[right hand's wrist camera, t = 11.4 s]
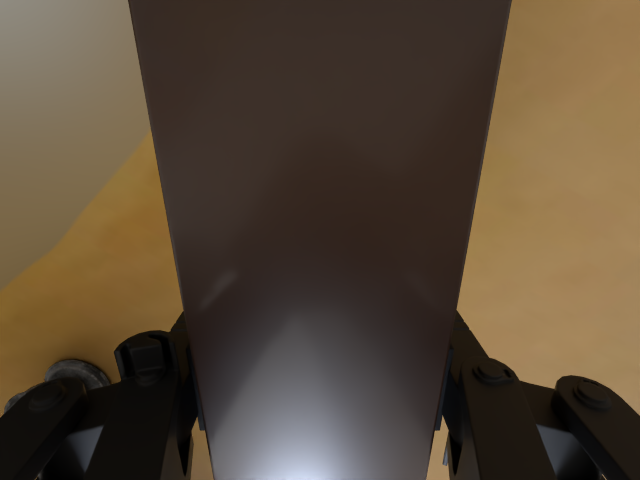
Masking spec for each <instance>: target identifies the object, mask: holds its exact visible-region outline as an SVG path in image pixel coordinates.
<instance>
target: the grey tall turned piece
mask: <svg viewBox="0 0 640 480" xmlns="http://www.w3.org/2000/svg"><path fill="white" fill-rule="evenodd" d="M64 377H74V378H78V379H80V380H81V381H82V382H83V384H84V387H85V390H90V389H94V388H99V387H103V386H107V385H110V383H109V380H108V379H107V377H106V376H105V375H104V374H103V373H102V372H101V371H100V370H99V369H97V368H96V367H94V366H92V365H90V364H88V363H85V362H82V361H77V360H63V361H60V362H57V363H55V364H54V365H52V366H51V367H50V368H49V369H48V371H47V372H46V375H45V382H48V381H51V380H54V379H57V378H64ZM45 382H43V383H45ZM43 383H40V384H38V385H36V386H33V387H31V388H30V389H28V390H27V391H25V392H22V393H19V394H17V395H15V396H14V397H12V398H11V399H10V400H9V401H8V403H7V404H6V406H5V410H4V414H5V413H6V412H7V411H8V410H9V409H10V408H11V407H12V406H13V405H14V404H15V403H16V402H17V401H18V400H19V399H20V398H21V397H22V396H24V395H25V394H26V393H28V392H29V391H30V390H32V389H33V388H35V387H37V386H39V385H41V384H43Z"/></svg>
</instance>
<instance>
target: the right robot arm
mask: <svg viewBox="0 0 640 480" xmlns="http://www.w3.org/2000/svg"><path fill="white" fill-rule="evenodd" d="M114 355H115V358H116V362H117V366H118V369H119V373H120V377H121V382H118V383H115V384H112V385H107V386H103V387H99V388H94V389H90V390H85V387H84V384H83V382H82V381H81V380H80V379H78V378H74V377H64V378H57V379H54V380H51V381H48V382H45V383H43V384H41V385H39V386H37V387H35V388H33V389H32V390H30V391H29V392H28V393H26V394H25V395H24V396H22V397H21V398H20V399H19V400H18V401H17V402H16V403H15V404H14V405H13V406H12V407H11V408H10V409H9V410H8V411H7V412H6V413H5V414H4V415H3V416H2V417H1V418H0V480H35V479H36V477H37V476H38V477H37V479H36V480H190V477H191V467H192V456H193V446H194V444H193V437H192V432H191V431H192V428H193V426H194V423H195V421H196V418H197V416H198V422H199V428H200V430H205V427H204V421H203V416H202V410H201V405H200V399H199V393H198V388H197V382H196V377H195V371H194V365H193V360H192V354H191V349H190V343H189V338H188V332H187V326H186V321H185V315H184V311H183V312H182V314H181V315H180V317H179V318H178V320H177V321H176V323H175V324H174V325H173V327H172V328H171V332H165V331H161V330H156V331H147V332H143V333H139V334H137V335H134V336H132V337H130V338H128V339H126V340H125V341H124V342H122V343H121V344H119V346H118V347H117V348H116V350H115V351H114ZM442 415H443V417H444V420H445V422H446V425H447V427H448V430H449V432H448V437H447V442H446V447H445V453H444V458H443V465H446V466H447V463H448V466H449V476H450V480H605V478H606V479H607V480H640V416H639V415H638V414H637V413H636V412H635V411H634V410H633V409H632V408H631V407H630V406H629V405H628V404H627V403H626V402H625V401H624V400H623V399H622V398H621V397H620V396H618V395H617V394H616V393H615V392H613V391H612V390H611V389H610V388H608V387H606V386H604V385H602V384H600V383H598V382H597V381H594V380H591V379H588V378H585V377H580V376H573V375H570V376H563V377H561V378H560V379H559V380H558V381H557V383H556V386H555V389H552V388H547V387H543V386H539V385H534V384H530V383H526V382H523V381H520V380H519V379H518V377H517V376H516V374H515V373H514V371H513V370H511V369H510V368H509V367H508V366H506V365H505V364H503V363H501V362H499V361H497V360H495V359H492V358H489V357H488V355H487V354H486V352H485V351H484V350H483V348H482V347H481V345H480V344H479V342H478V341H477V339H476V338H475V336H474V335H473V333H472V332H471V330H469V327H468V326H467V324H466V323H465V322H464V320H463V319H462V317H461V316H460V314H459V313H458V311H457V310H456V315H455V320H454V326H453V331H452V337H451V343H450V348H449V354H448V359H447V365H446V371H445V376H444V382H443V387H442V393H441V398H440V404H439V410H438V415H437V421H436V426H435V430H440V426H441V421H442ZM602 474H603V475H604V477H605V478H604V477H603V476H602Z"/></svg>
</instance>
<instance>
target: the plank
mask: <svg viewBox="0 0 640 480" xmlns="http://www.w3.org/2000/svg"><path fill="white" fill-rule="evenodd" d="M128 2H129V8H130V13H131V19H132V24H133V30H134V36H135V41H136V47H137V53H138V58H139V64H140V69H141V75H142V80H143V86H144V92H145V97H146V103H147V108H148V114H149V120H150V125H151V131H152V136H153V142H154V148H155V153H156V159H157V164H158V170H159V175H160V181H161V187H162V192H163V198H164V203H165V209H166V215H167V220H168V226H169V231H170V237H171V243H172V248H173V254H174V259H175V265H176V270H177V276H178V282H179V287H180V293H181V298H182V304H183V310H184V315H185V321H186V326H187V332H188V338H189V343H190V349H191V354H192V360H193V365H194V371H195V377H196V382H197V388H198V393H199V399H200V405H201V410H202V416H203V421H204V427H205V433H206V438H207V444H208V449H209V455H210V460H211V466H212V472H213V477H214V480H426V477H427V471H428V466H429V460H430V454H431V449H432V443H433V438H434V432H435V426H436V421H437V415H438V410H439V404H440V398H441V393H442V387H443V382H444V376H445V371H446V365H447V359H448V354H449V348H450V343H451V337H452V331H453V326H454V320H455V315H456V309H457V303H458V298H459V292H460V287H461V281H462V275H463V270H464V264H465V259H466V253H467V248H468V242H469V236H470V231H471V225H472V220H473V214H474V208H475V203H476V197H477V192H478V186H479V180H480V175H481V169H482V164H483V158H484V152H485V147H486V141H487V136H488V130H489V125H490V119H491V113H492V108H493V102H494V97H495V91H496V85H497V80H498V74H499V69H500V63H501V57H502V52H503V46H504V41H505V35H506V29H507V24H508V18H509V13H510V7H511V2H512V0H128Z"/></svg>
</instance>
